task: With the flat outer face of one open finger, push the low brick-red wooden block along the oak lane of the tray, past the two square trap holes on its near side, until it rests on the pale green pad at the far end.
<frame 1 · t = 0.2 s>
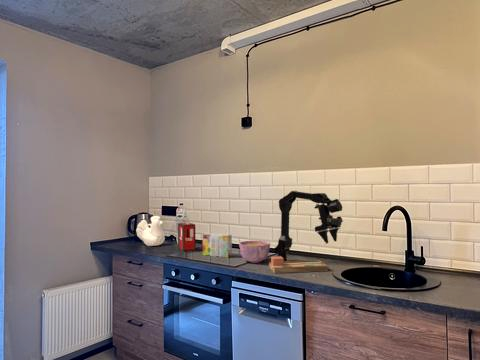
hand: (331, 242, 185), 15 cm above the worktop, tool pointing down, fingers open, 9 cm apart
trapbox: (297, 268, 188), on the worktop
block: (277, 264, 191), point 2 cm above the worktop, touching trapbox
snack box: (217, 256, 229), on the worktop
decorative rooster: (150, 245, 277), on the worktop
cleaning product box: (186, 250, 251), on the worktop
bowl of food: (254, 261, 210), on the worktop
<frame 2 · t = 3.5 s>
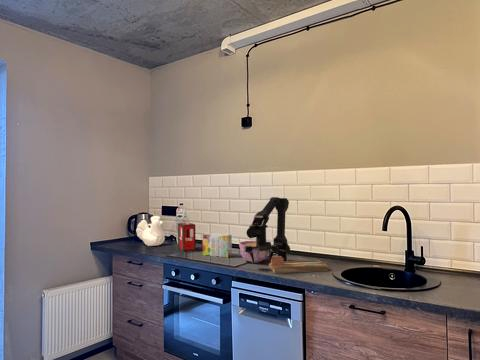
hand: (261, 263, 190), 3 cm above the worktop, tool pointing down, fingers open, 9 cm apart
block: (277, 264, 191), point 2 cm above the worktop, touching gripper, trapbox
everything else where it was.
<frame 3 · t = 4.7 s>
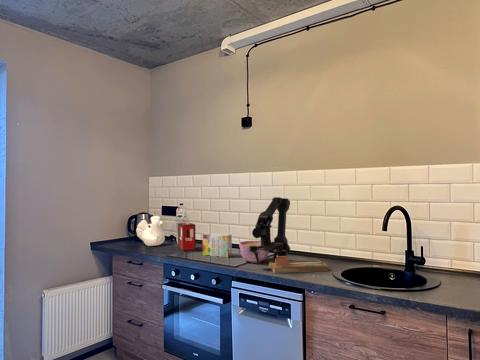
hand: (265, 263, 190), 3 cm above the worktop, tool pointing down, fingers open, 9 cm apart
block: (281, 264, 191), point 2 cm above the worktop, touching gripper, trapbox
everything else where it was.
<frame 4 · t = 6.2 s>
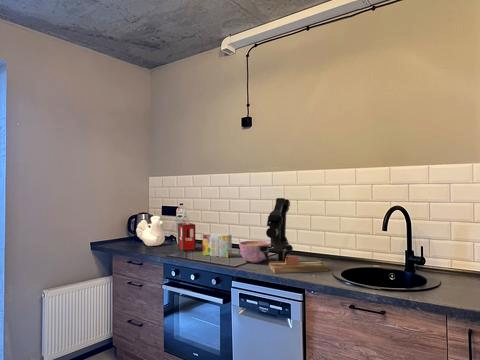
hand: (275, 262, 191), 3 cm above the worktop, tool pointing down, fingers open, 9 cm apart
block: (291, 264, 192), point 2 cm above the worktop, touching gripper, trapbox
everything else where it was.
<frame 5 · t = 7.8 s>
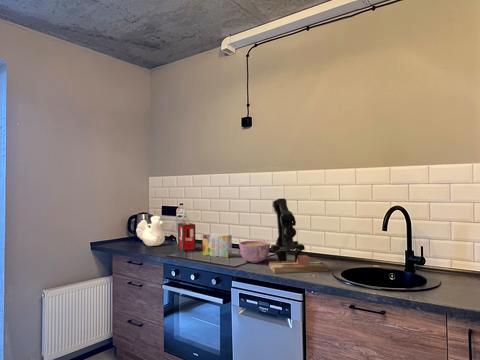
hand: (287, 262, 192), 3 cm above the worktop, tool pointing down, fingers open, 9 cm apart
block: (303, 263, 193), point 2 cm above the worktop, touching gripper, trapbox
everything else where it was.
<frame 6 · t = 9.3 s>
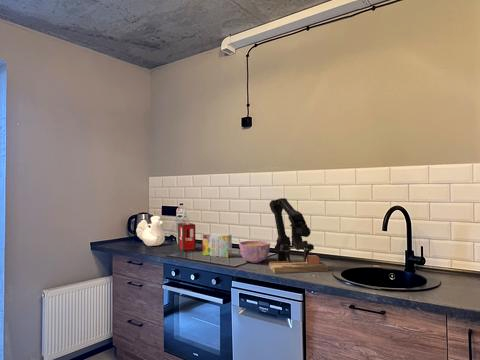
hand: (297, 262, 192), 3 cm above the worktop, tool pointing down, fingers open, 9 cm apart
block: (312, 263, 193), point 2 cm above the worktop, touching gripper, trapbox
everything else where it was.
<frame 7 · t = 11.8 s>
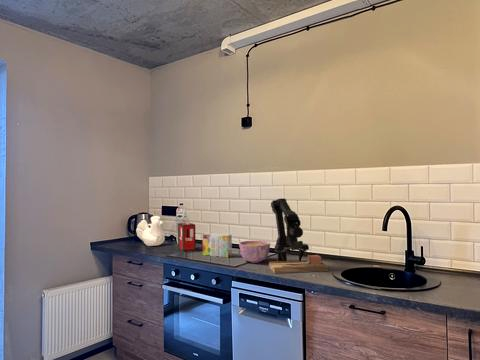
hand: (292, 262, 192), 3 cm above the worktop, tool pointing down, fingers open, 9 cm apart
block: (314, 263, 193), point 2 cm above the worktop, touching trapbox
everything else where it was.
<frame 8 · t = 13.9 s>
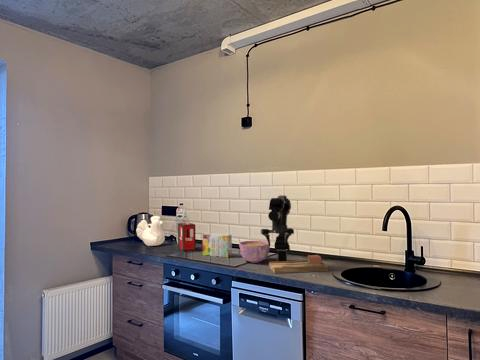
hand: (277, 246, 195), 12 cm above the worktop, tool pointing down, fingers open, 9 cm apart
nothing on the worktop moved.
at the end: block inside the target area on the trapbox (0.6 cm from its centre), point 2.0 cm above the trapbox's base; block tilted 0° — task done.
